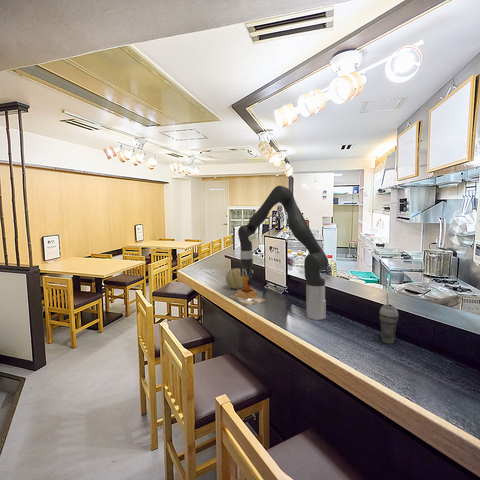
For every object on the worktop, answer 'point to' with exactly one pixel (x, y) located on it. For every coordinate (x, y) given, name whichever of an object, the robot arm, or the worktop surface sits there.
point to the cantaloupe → (234, 278)
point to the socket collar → (247, 295)
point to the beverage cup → (388, 322)
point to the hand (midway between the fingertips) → (247, 284)
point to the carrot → (246, 283)
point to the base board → (247, 303)
